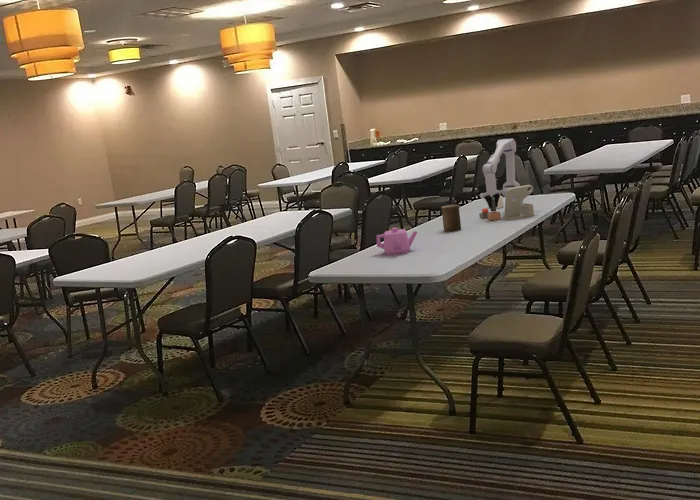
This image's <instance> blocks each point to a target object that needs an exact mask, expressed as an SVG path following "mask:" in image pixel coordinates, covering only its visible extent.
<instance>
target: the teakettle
mask: <svg viewBox="0 0 700 500" xmlns="http://www.w3.org/2000/svg"><path fill="white" fill-rule="evenodd" d="M417 234H418V231H415V230H413V232H412V233H411V235H410V236H409V237H408V233H407V231H406V229H404V228H402V229H401V228H400V229H399V228H398V227H393V228H391V230H385V231H384V233H382V234H377V235H376V247H378V248H380V249H382V250H384V252H385V254H386V256H395V255H396V254H397V255H403V254H402V253H405V254H408V253H407V252H409V253H410V249H411V246H412V244H413V242H414V240H415V238H416V236H417ZM381 238H383V242H381Z"/></svg>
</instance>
